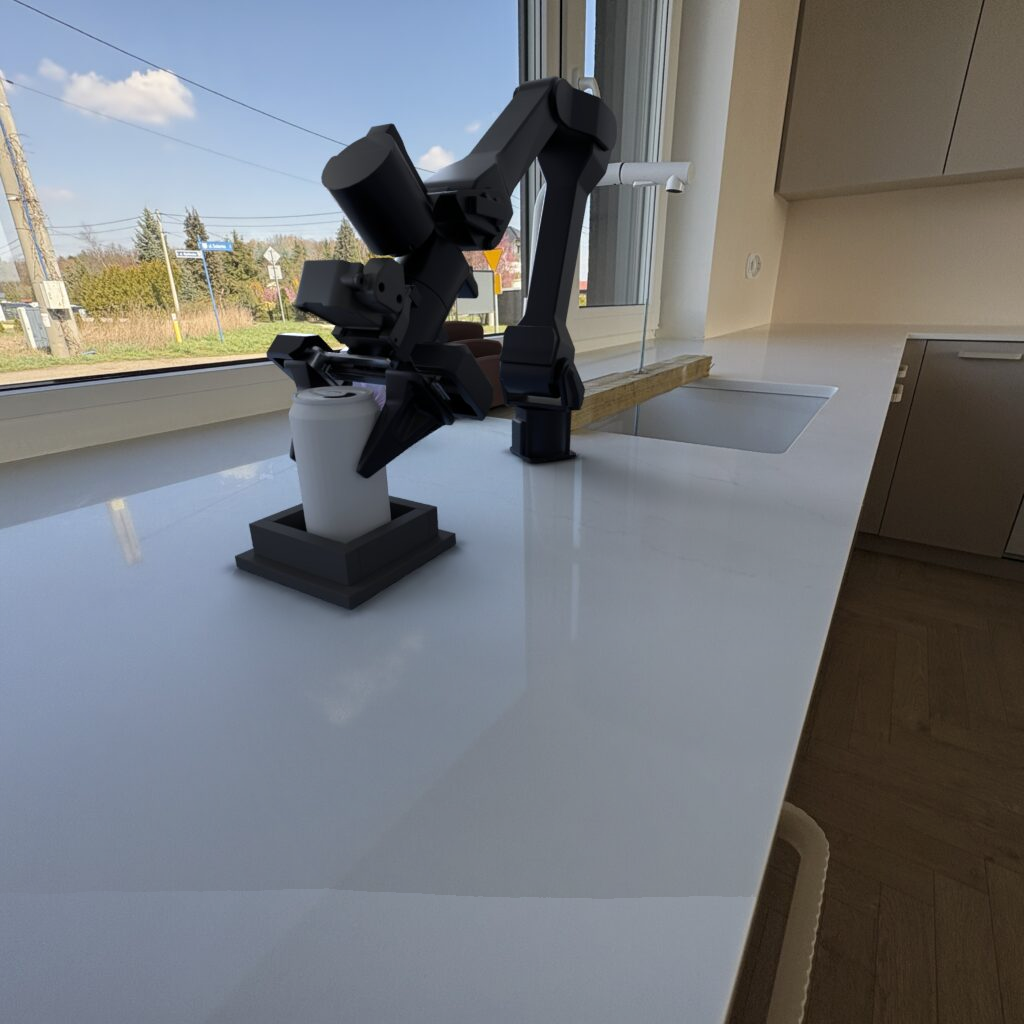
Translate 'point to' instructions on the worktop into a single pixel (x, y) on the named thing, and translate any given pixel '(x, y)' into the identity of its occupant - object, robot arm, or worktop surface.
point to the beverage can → (337, 461)
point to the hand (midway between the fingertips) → (327, 468)
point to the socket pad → (344, 553)
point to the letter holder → (479, 351)
